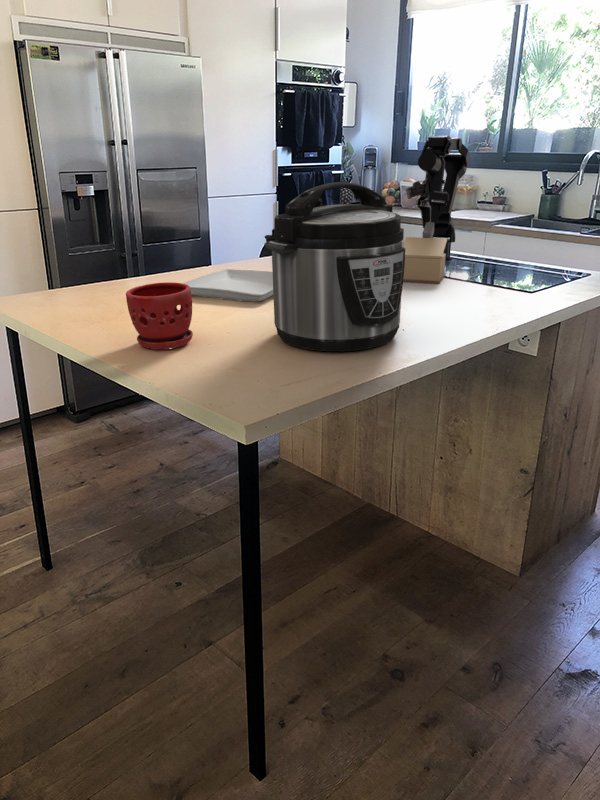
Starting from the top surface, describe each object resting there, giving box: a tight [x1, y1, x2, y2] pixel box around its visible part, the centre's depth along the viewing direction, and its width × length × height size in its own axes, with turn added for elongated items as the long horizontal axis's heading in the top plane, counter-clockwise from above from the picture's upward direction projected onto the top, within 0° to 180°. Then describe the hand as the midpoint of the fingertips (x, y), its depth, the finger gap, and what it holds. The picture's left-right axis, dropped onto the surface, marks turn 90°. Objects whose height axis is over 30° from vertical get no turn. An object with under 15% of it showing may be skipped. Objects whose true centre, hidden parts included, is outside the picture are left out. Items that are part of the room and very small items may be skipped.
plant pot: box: [125, 281, 194, 350], centre depth 133 cm, size 13×13×12 cm
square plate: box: [182, 268, 273, 303], centre depth 182 cm, size 27×27×4 cm
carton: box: [403, 254, 446, 285], centre depth 192 cm, size 10×12×7 cm
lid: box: [403, 222, 448, 259], centre depth 192 cm, size 17×12×3 cm
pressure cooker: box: [264, 181, 405, 352], centre depth 132 cm, size 30×28×32 cm
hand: (428, 227), depth 207 cm, fingers open, 9 cm apart
